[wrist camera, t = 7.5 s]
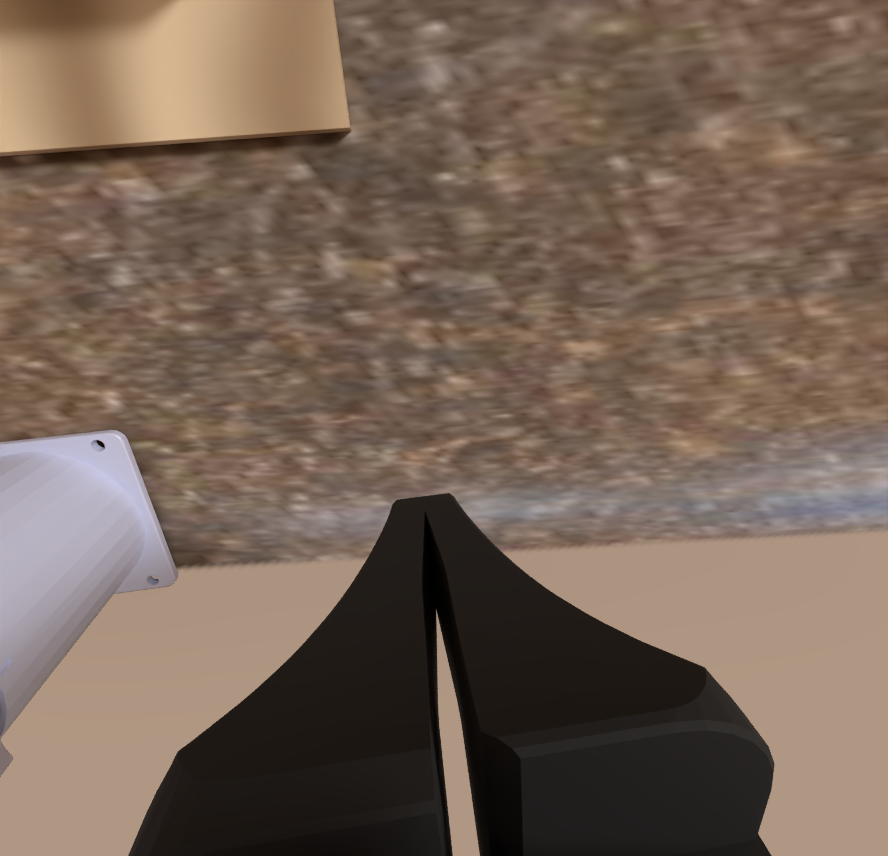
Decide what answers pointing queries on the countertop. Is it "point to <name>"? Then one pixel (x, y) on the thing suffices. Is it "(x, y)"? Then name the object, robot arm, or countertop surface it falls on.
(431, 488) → the countertop surface
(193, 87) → the mat
